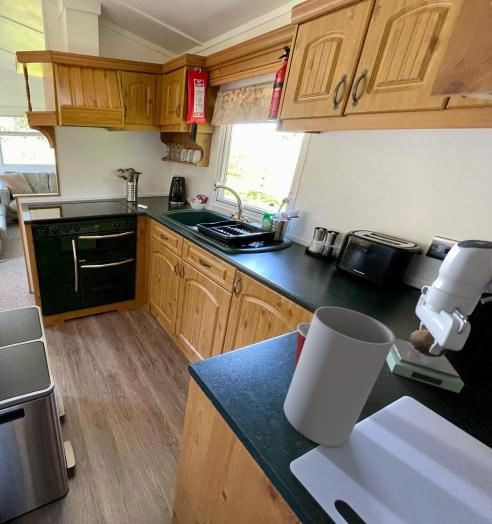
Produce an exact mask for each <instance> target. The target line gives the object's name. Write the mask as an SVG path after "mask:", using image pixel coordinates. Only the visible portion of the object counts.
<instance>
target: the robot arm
mask: <svg viewBox="0 0 492 524" xmlns="http://www.w3.org/2000/svg"><path fill="white" fill-rule="evenodd" d="M420 292H421V295H420V296H419V299H418V301H417V304H416V306H415V314H416V316H417V317H418V319H420V324H419V330H429V332H430V333H431V334H432V336H433V337H434V338H435V340H434V342H435V343H434V344H433V345H430V346H429V348H428V350H429V352H430V353H431V354H435V355H438V354H439V353H440V351H441V350H443V349H444V348H446V349H447V350H450V351H455V352H458V351H461V350H462V349H464V346H465V344H466V342H467V339H468V337H469V336H470V332H471V327H472V326H471V323H470V322H469V321H468V319H469V317H468V316H470V315H472V313H473V311H474V310H475V308H476V306H477V305H478V303H479V301H480V299H481V298H482V294H484V293H486V294H491V295H492V241H491V240H482V239H466V240H461V241H458V242H457V243H456V244H454V245H453V246H452V247H451V249H450V250H449V251H448V253H447V254H446V256H445V258H444V259H443V261H442V262H441V265H440V267H439V270H438V276H437V278H436V279H435V280H434V281H433V282H432V284H431V286H430V285H423V286H422V288H421V291H420Z"/></svg>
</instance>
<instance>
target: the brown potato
mask: <svg viewBox="0 0 492 524" xmlns="http://www.w3.org/2000/svg"><path fill="white" fill-rule="evenodd" d="M434 340H435V338H434V337H433V336H432V334H431V333H430V332H429V330H420V329H417V330H415V331H413V332H411V333H410V336H409V342H411V345H412V346H413V348H414V349H415V350H417V351H418V352H419V353H421V354H423V355H425V356H430V357H441V356H443V355H444V356H445V355H446V354H447V351H448V349H446V348H444V349H443V350H441V351H440V353H439V354H438V355H435V354H431V353H430V352H429V350H428V348H429V346H430V345H433V344H434V343H435V342H434Z"/></svg>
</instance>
